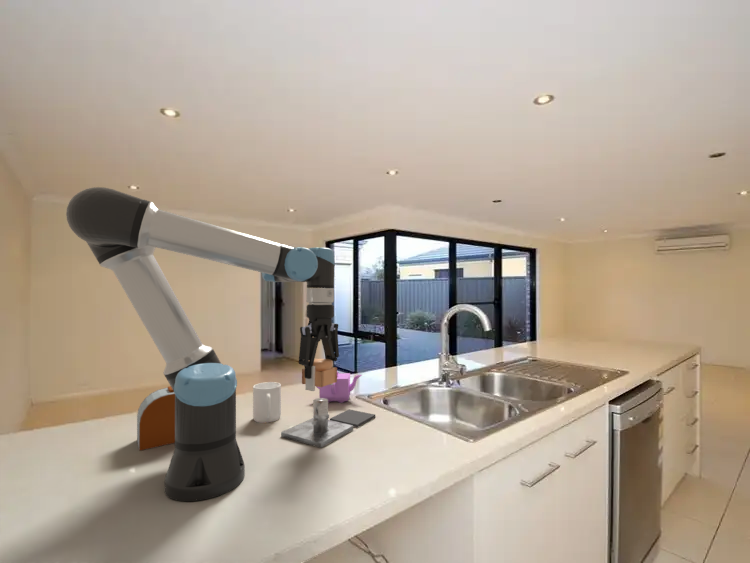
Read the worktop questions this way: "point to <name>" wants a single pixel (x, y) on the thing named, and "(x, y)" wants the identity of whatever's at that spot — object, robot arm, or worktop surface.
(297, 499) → the worktop surface
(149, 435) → the orange rounded block
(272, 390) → the cup
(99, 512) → the worktop surface
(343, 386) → the teapot
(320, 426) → the post fixture
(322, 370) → the cap
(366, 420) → the pad
